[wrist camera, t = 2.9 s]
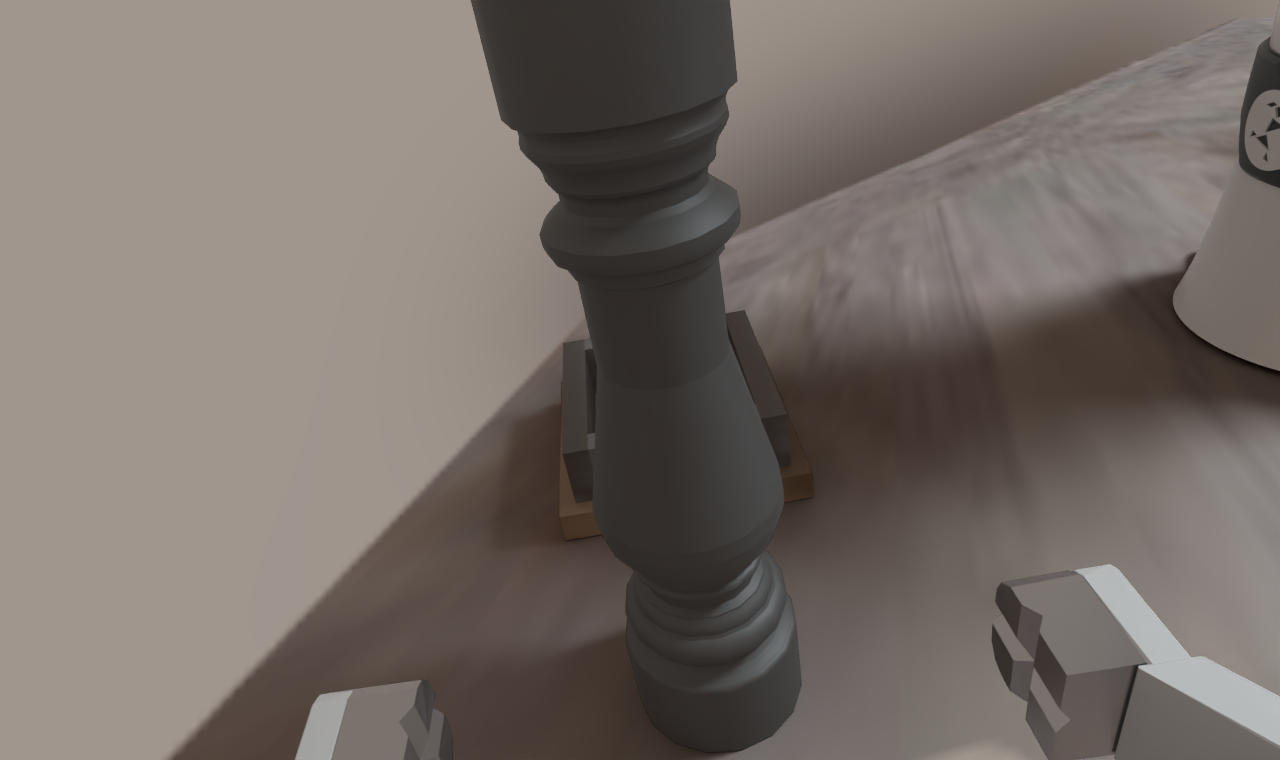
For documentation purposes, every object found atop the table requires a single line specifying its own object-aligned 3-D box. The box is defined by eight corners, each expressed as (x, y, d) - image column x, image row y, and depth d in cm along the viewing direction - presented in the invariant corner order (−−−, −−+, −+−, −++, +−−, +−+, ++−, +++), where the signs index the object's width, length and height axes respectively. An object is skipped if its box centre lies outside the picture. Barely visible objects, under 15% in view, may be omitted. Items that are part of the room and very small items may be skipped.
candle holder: (627, 635, 33) (455, -35, 20) (771, 597, 34) (697, -83, 20) (655, 773, 28) (448, -11, 15) (826, 727, 28) (775, -77, 15)
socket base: (762, 367, 48) (755, 301, 46) (813, 497, 38) (808, 421, 36) (566, 402, 49) (549, 338, 46) (565, 540, 39) (544, 468, 36)
